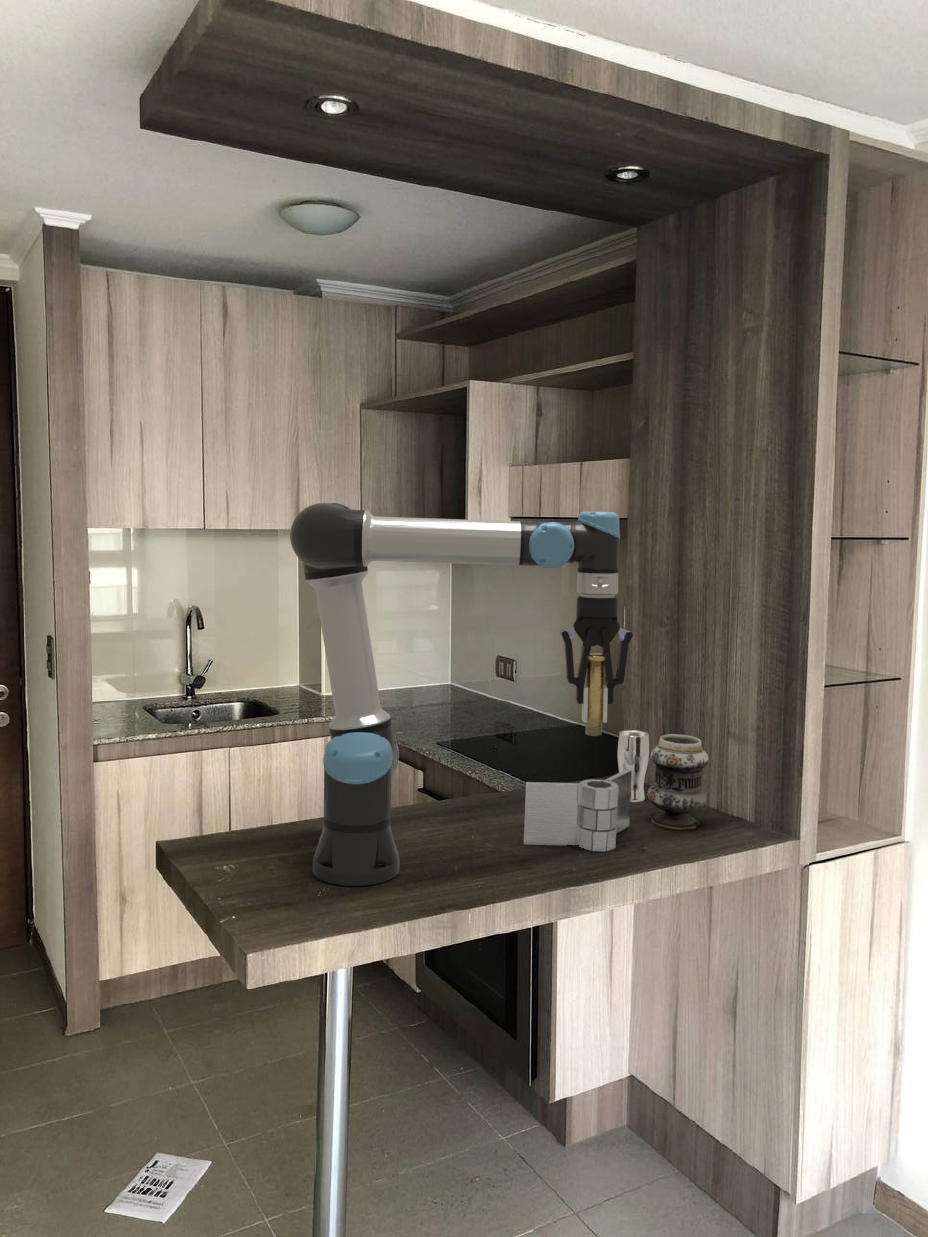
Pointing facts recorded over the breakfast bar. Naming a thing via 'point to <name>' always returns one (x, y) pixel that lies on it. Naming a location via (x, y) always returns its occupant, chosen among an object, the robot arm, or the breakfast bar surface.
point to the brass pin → (595, 693)
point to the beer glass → (634, 759)
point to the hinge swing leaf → (613, 816)
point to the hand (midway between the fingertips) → (594, 720)
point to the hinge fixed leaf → (568, 813)
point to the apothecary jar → (677, 781)
